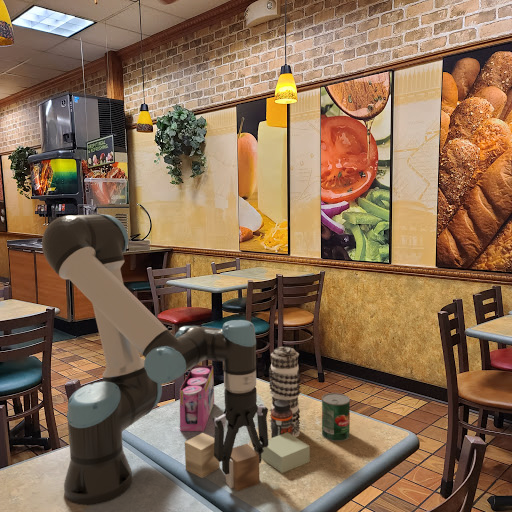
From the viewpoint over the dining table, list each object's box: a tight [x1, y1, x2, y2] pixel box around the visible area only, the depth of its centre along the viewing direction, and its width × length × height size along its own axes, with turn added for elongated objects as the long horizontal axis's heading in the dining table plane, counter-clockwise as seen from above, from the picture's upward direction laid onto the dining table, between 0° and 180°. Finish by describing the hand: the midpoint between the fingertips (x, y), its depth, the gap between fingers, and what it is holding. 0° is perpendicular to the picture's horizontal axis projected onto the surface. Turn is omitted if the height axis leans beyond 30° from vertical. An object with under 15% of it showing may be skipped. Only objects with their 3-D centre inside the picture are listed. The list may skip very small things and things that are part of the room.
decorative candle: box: [268, 346, 302, 438], centre depth 134 cm, size 9×9×25 cm
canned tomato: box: [321, 392, 351, 442], centre depth 133 cm, size 8×8×11 cm
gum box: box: [179, 365, 215, 432], centre depth 146 cm, size 22×7×13 cm, turn 177°
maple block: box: [184, 432, 221, 479], centre depth 116 cm, size 6×6×8 cm
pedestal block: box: [261, 432, 311, 474], centre depth 120 cm, size 9×9×5 cm
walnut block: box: [231, 443, 261, 492], centre depth 110 cm, size 6×6×8 cm
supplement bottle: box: [270, 400, 293, 438], centre depth 129 cm, size 6×6×11 cm
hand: (242, 480), depth 110 cm, fingers closed on walnut block, 6 cm apart
